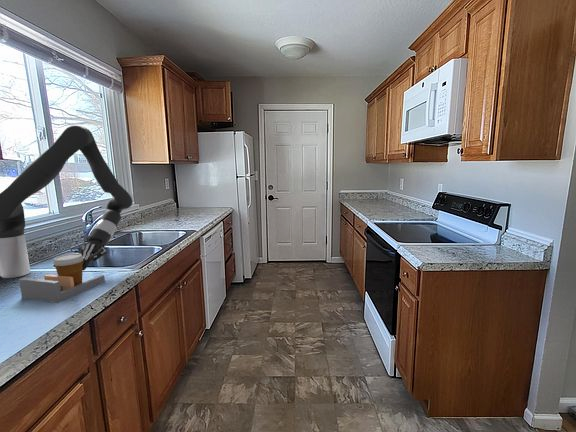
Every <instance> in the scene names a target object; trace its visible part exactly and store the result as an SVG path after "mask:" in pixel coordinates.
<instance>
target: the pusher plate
mask: <svg viewBox="0 0 576 432" xmlns="http://www.w3.org/2000/svg"><path fill="white" fill-rule="evenodd" d="M43 278H44V279H43V280H51V281H59V283H60V290H61V292H62V291H65V290H67V289H69V288H72V287H74V280H73V277H68V276H58V274H45V275H44V276H43Z"/></svg>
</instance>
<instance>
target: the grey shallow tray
mask: <svg viewBox="0 0 576 432" xmlns="http://www.w3.org/2000/svg"><path fill="white" fill-rule="evenodd" d="M104 282H106V278H105V275H104V274H100V275H98V276H95V277H93V278H91V279H89V280H86V281H84V282H83V281H82V283H81V284H79V285H76V286H74V287H72V288H69V289H67V290H65V291H62V292H61V290H60V283H59V281H51V280H45V279H39V278H38V279H37V278H30V277H29V278H28V277H21V278H19V279H18V284H19V288H20V293H21V294H20V296H21V298H22V299H25V300H33V301H43V302H48V303H49V302H50V303H60V302H62V301H64V300H66V299H69V298H71V297H73V296H75V295H77V294H80V293H82V292H84V291H86V290H88V289H92V288H93V287H95V286H98V285H100V284H102V283H104Z"/></svg>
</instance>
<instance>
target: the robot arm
mask: <svg viewBox="0 0 576 432" xmlns="http://www.w3.org/2000/svg"><path fill="white" fill-rule="evenodd" d="M79 151H80V152H81V153H82V154H83V156H84V157H85V159H86V161H87V163H88V164H89V166H90V169H91V172H92V174H93V177H94V178H95V180H96V182H97V183H98V185H99V186H100V188H101V189H102V191H103V192H104V193H105V194H106V193H107V194H109V195H111V196H112V197H111V198H110V199H109V200H108V202H107V203H106V206H105V209H104V212H103V214H102V216H101V217H100V219H99V220H98V222H97V223H96V224H95V226H94V228H93V229H92V231H91V232H90V233H89V235H88V238H87V239H88V241H87V242H85V244H84V246H79V247H77V251H78V252H77V253H78V254H82V256H83V257H84V259H83V267H82V271H85V270H86V269H87V268H88V266H89V264H90V263H92V262H96V261H97V260H98V259H100V258H102V257H103V256H104V255H105V254H107V253H108V252H107V250H106V249H105V247H106V246H107V245H108V244H109V242H110V241H111V238H112V237H113V235H114V233H115V231H116V228H117V227H118V225H119V224H120V222H121V219H122V215H121V212H122V211H123V210H127V209H129V208H131V206H132V205H133V199H132V196H131V195H130V194H129V192H128V191H127V190H126V189H125V188H124V187H123V186H122V185H121V184H120V183H119V181H118V180H117V178H116V177H115V175H114V174H113V172H112V170H111V169H110V167H109V166H108V164H107V162H106V160H105V159H104V157H103V155H102V154H101V151H100V149H99V147H98V144H97V142H96V140H95V137H94V135H93V133H92V132H91V130H90V129H89V128H87V127H85V126H82V125H77V124H76V125H70V126H67V127H66V128H65V129H64V130H63V132H62V133H60V135H59V137H58V138H57V139H56V140H55V141H54V143H52V144H51V146H50V147H49V148H47V149H46V150H45V151H44V152H43V153H42V154H40V155H39V156H38V157H36V159H34V160H33V161H32V162H31V163H30V164H29V165H28V166H27V167H26V168H25V169H24V170H23V171H22V172H21V174H19V175H18V176H17V177H16V178H15V179H14V180H13V181H12V182H11V183H10V184H9V186H8V187H6V188H5V189H4V190H3V191H2V192H0V277H1V278H2V279H14V278H19V277H23V276H26V275H28V274H30V273H31V266H30V262H29V254H28V248H27V242H26V236H25V227H26V218H25V217H26V216H25V210H24V206H23V204H22V203H23V202H25V200H27V199H29V198H30V197H31V196H32V195H35V194H36V193H38V192H39V191H41V190H43V189H44V188H45V187H47V186H48V185H49V184H51V182H52V181H54V179H55V178H57V176H58V175H60V173H61V171H62V169H63V168H64V167H65V164H66V163H67V161H68V160H69V159H70V158H71V157H72V156H74V154H76V153H77V152H79Z"/></svg>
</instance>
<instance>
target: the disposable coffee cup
mask: <svg viewBox="0 0 576 432" xmlns="http://www.w3.org/2000/svg"><path fill="white" fill-rule="evenodd" d="M83 259H84V257H83V256H82V254H78V252H77V253H67V254H63V255H58V256H55V257H54V258H53V260H52V264H53V265H54V267H55V271H56V273H57V274H56V275H57V276H68V277H73V280H74V286H76V285H79V284H81V283H83V270H82V267H83Z"/></svg>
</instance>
